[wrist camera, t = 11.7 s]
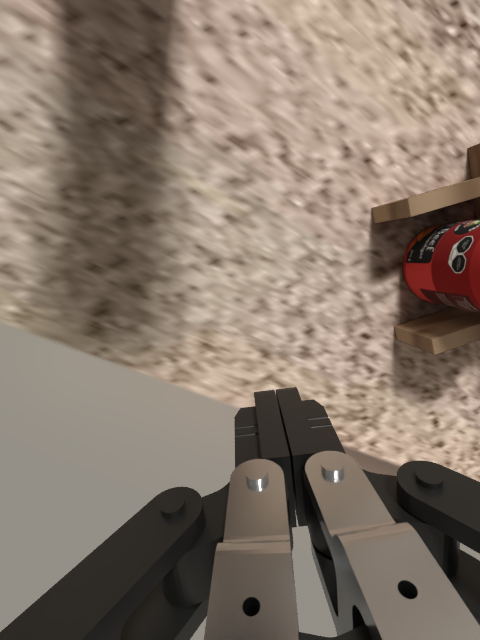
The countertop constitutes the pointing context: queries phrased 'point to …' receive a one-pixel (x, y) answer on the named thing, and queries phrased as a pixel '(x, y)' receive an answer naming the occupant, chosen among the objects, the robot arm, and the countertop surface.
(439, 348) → the bracket
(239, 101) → the countertop surface
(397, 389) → the countertop surface
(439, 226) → the canned food
